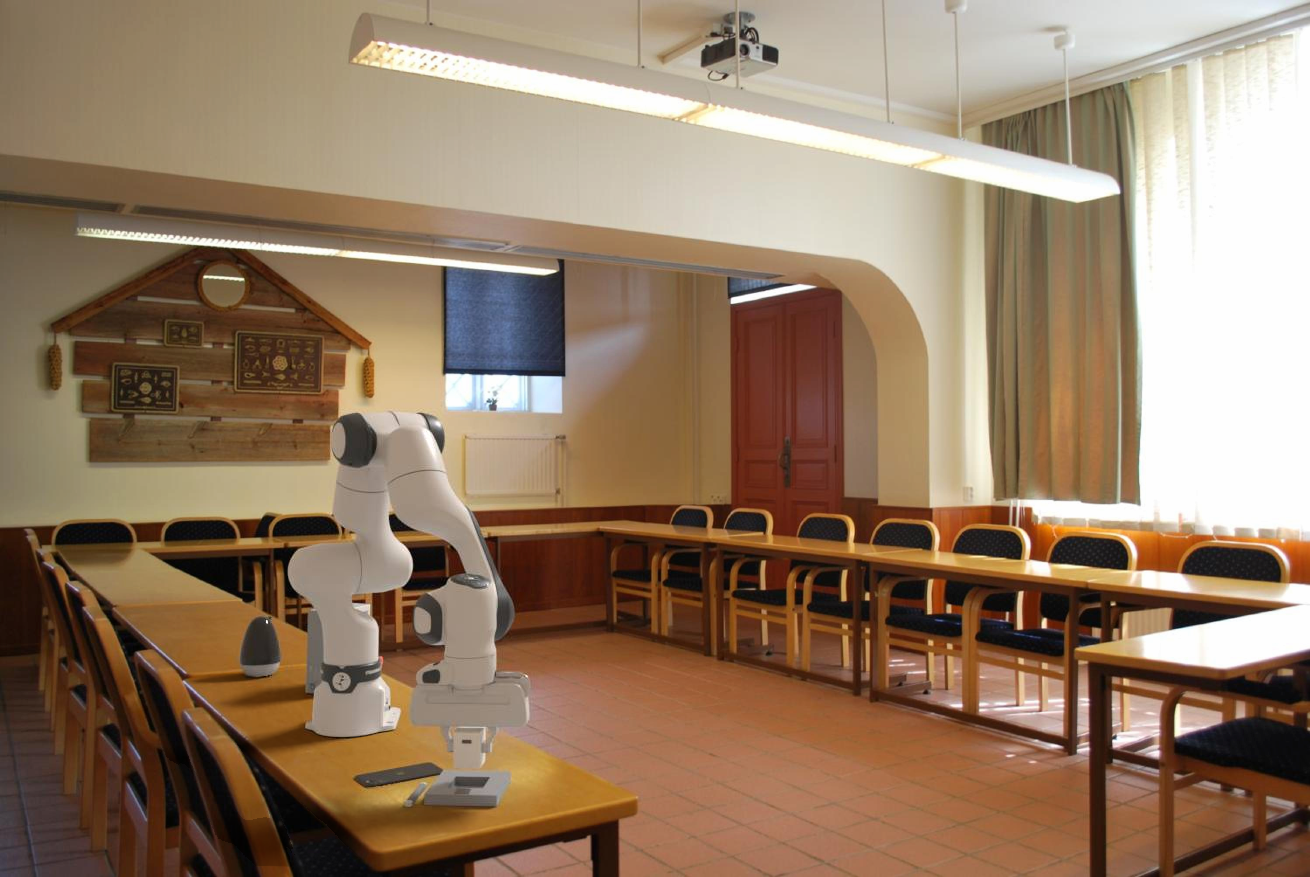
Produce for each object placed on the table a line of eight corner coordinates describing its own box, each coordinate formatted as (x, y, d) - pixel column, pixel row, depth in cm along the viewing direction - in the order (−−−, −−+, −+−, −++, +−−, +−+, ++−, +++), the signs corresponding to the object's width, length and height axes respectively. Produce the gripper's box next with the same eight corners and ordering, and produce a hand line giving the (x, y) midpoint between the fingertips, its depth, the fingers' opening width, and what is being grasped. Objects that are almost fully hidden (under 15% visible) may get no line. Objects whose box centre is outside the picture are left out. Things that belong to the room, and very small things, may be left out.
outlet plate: (443, 779, 185) (443, 769, 185) (510, 781, 184) (510, 770, 184) (424, 805, 172) (424, 793, 172) (496, 806, 171) (496, 795, 171)
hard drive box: (331, 696, 246) (332, 612, 246) (304, 694, 248) (305, 610, 248) (370, 682, 260) (370, 603, 261) (344, 680, 263) (344, 601, 263)
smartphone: (447, 770, 189) (367, 785, 180) (447, 775, 189) (367, 790, 180) (430, 760, 195) (352, 774, 186) (430, 765, 195) (352, 779, 186)
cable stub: (420, 787, 181) (420, 780, 181) (427, 788, 181) (427, 781, 181) (403, 807, 171) (404, 800, 171) (410, 808, 171) (411, 801, 171)
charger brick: (459, 760, 180) (459, 725, 180) (485, 760, 180) (485, 725, 180) (453, 768, 176) (453, 732, 176) (479, 768, 175) (480, 733, 175)
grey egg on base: (288, 671, 273) (289, 613, 273) (269, 680, 263) (270, 619, 263) (251, 670, 274) (252, 612, 274) (231, 678, 264) (231, 618, 264)
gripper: (533, 667, 181) (533, 747, 181) (416, 666, 182) (416, 745, 181) (527, 675, 174) (527, 758, 174) (406, 673, 175) (406, 756, 175)
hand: (469, 751), depth 178 cm, fingers closed on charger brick, 4 cm apart
